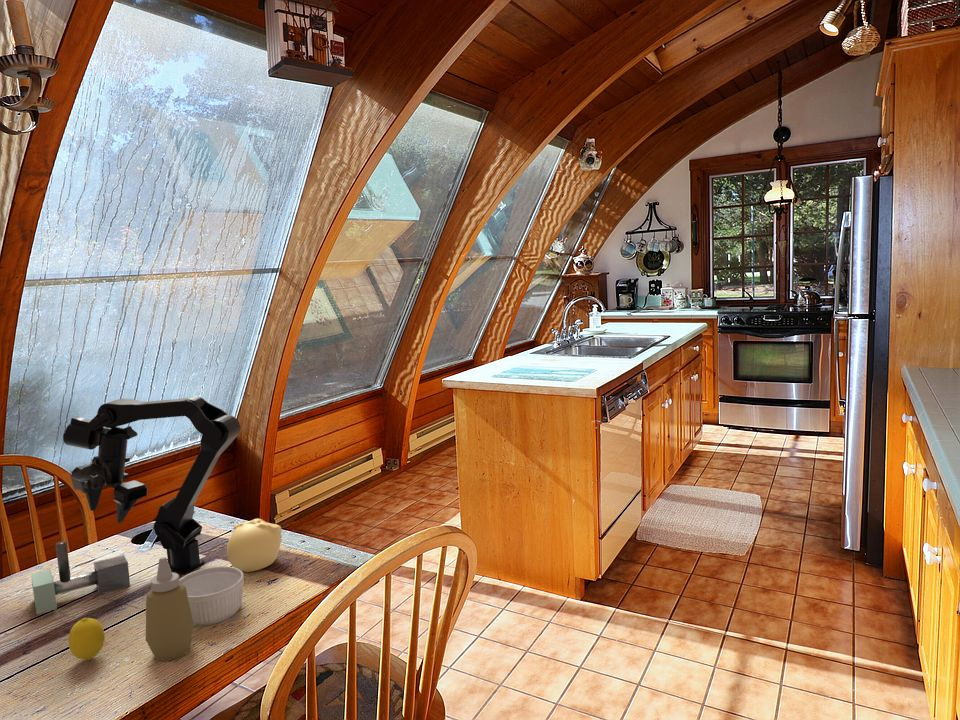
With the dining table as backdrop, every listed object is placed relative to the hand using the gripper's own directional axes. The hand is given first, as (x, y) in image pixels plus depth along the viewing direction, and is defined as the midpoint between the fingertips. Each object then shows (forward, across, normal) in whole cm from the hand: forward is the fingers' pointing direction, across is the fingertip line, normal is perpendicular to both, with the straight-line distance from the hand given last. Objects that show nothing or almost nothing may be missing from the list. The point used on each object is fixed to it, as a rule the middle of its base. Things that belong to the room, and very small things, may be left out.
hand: (106, 516), depth 157 cm
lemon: (+8, +34, -28) cm, 44 cm away
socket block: (+13, +6, -17) cm, 22 cm away
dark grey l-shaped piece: (+10, +8, -13) cm, 18 cm away
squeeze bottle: (+6, +46, -20) cm, 50 cm away
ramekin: (+6, +41, -7) cm, 42 cm away
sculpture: (+5, +34, +13) cm, 37 cm away
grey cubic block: (+11, +12, -6) cm, 17 cm away
